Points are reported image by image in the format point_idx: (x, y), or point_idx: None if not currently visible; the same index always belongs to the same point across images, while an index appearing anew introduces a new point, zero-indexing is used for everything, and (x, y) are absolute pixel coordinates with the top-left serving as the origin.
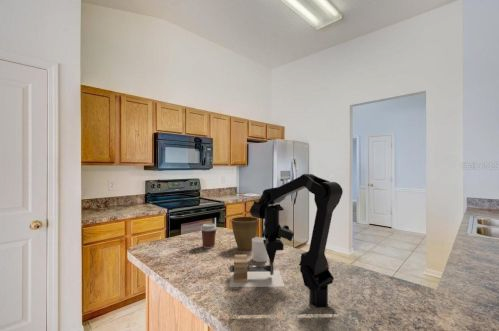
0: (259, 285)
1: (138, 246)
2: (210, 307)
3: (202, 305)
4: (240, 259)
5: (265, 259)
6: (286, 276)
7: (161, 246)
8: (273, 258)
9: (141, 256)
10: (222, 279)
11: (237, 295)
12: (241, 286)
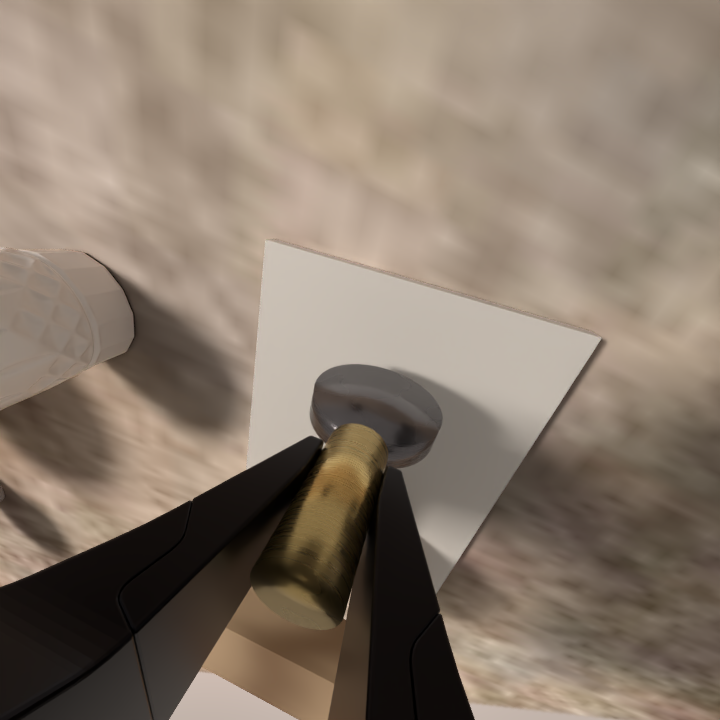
0: (480, 494)
1: None
2: (554, 701)
3: (521, 706)
4: (306, 700)
5: (89, 284)
6: (374, 202)
7: None
8: (410, 530)
9: None
10: None
11: (509, 599)
12: (446, 570)
